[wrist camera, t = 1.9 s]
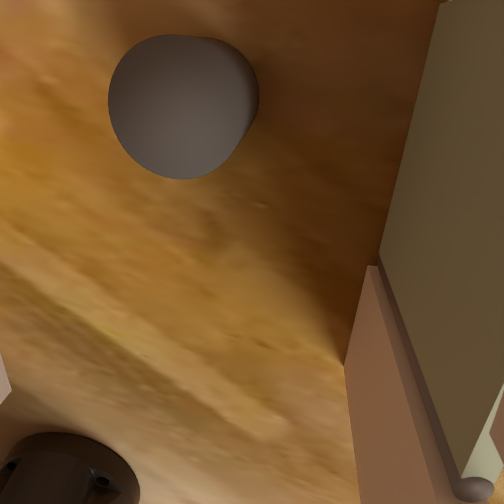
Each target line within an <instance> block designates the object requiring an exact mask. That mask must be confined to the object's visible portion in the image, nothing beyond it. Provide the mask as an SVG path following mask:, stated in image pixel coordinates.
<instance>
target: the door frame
mask: <svg viewBox="0 0 504 504" xmlns="http://www.w3.org/2000/svg"><path fill="white" fill-rule="evenodd" d="M344 374H345V382H346V390H347V398H348V406H349V413H350V421H351V429H352V437H353V445H354V452H355V460H356V468H357V476H358V484H359V492H360V499H361V504H489V502H488V500H487V499H486V500H484V501H481V502H476V503H469V502H464V501H461V500H459V499H457V498H456V497H455V496H454V494H453V491H452V488H451V485H450V482H449V479H448V476H447V473H446V470H445V467H444V464H443V461H442V458H441V455H440V452H439V449H438V446H437V443H436V440H435V437H434V434H433V431H432V428H431V425H430V422H429V420H428V417H427V414H426V411H425V408H424V405H423V402H422V399H421V396H420V393H419V390H418V387H417V384H416V381H415V378H414V375H413V372H412V369H411V366H410V363H409V360H408V357H407V354H406V351H405V348H404V345H403V342H402V339H401V336H400V333H399V330H398V327H397V324H396V321H395V318H394V315H393V312H392V309H391V306H390V303H389V300H388V297H387V294H386V291H385V288H384V285H383V282H382V279H381V276H380V273H379V270H378V267H377V266H370V265H367V269H366V274H365V278H364V282H363V286H362V291H361V295H360V299H359V303H358V308H357V312H356V316H355V320H354V324H353V329H352V333H351V337H350V341H349V346H348V350H347V354H346V358H345V362H344Z"/></svg>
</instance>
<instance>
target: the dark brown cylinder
mask: <svg viewBox="0 0 504 504" xmlns="http://www.w3.org/2000/svg"><path fill="white" fill-rule="evenodd" d="M258 103H259V89H258V83H257V79H256V76H255V73H254V71H253V69H252V67H251V65H250V64H249V62H248V61H247V59H246V58H245V57H244V56H243V55H242V54H241V53H240V52H239V51H238V50H237V49H235V48H234V47H232V46H231V45H229V44H227V43H225V42H223V41H220V40H217V39H212V38H202V37H192V36H181V35H161V36H156V37H152V38H149V39H146V40H144V41H142V42H140V43H139V44H137V45H135V46H134V47H133V48H132V49H130V50H129V51H128V52H127V53H126V54H125V55H124V57H123V58H122V59H121V60H120V62H119V63H118V65H117V67H116V69H115V71H114V73H113V76H112V79H111V82H110V86H109V93H108V107H109V115H110V119H111V123H112V126H113V129H114V132H115V134H116V136H117V138H118V140H119V141H120V143H121V145H122V146H123V148H124V149H125V150H126V152H127V153H128V154H129V155H130V156H131V157H132V158H133V159H134V160H135V161H136V162H137V163H139V164H140V165H141V166H142V167H144V168H146V169H147V170H149V171H151V172H153V173H155V174H157V175H160V176H163V177H167V178H172V179H192V178H197V177H200V176H203V175H206V174H208V173H210V172H212V171H214V170H215V169H217V168H218V167H219V166H221V165H222V164H223V163H224V162H225V161H226V160H227V159H228V157H229V156H230V155H231V154H232V152H233V151H234V149H235V148H236V147H237V145H238V144H239V142H240V141H241V139H242V138H243V136H244V135H245V133H246V132H247V131H248V129H249V128H250V126H251V124H252V123H253V121H254V118H255V116H256V113H257V109H258Z"/></svg>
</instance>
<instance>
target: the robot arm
mask: <svg viewBox="0 0 504 504" xmlns="http://www.w3.org/2000/svg"><path fill="white" fill-rule="evenodd" d="M11 391H12V390H11V386H10V383H9V380H8V377H7V373H6V370H5V367H4V364H3V360H2V357H1V354H0V404H1V403H2V402H3V400H4V399H5V398H6V397H7V396H8V394H9V393H10V392H11ZM489 435H490V437H491V439H492V441H493V443H494V445H495V447H496V450H497V452H498V454H499V456H500V458H501V460H502V462H503V465H504V391H503V394H502V397H501V400H500V403H499V406H498V409H497V412H496V414H495V417H494V420H493V423H492V426H491V429H490V432H489ZM139 500H140V488H139V484H138V481H137V479H136V477H135V475H134V473H133V472H132V470H131V469H130V468H129V466H128V465H127V464H126V463H125V462H124V461H123V460H122V459H121V458H120V457H119V456H117V455H116V454H115V453H113V452H112V451H110V450H109V449H107V448H106V447H104V446H102V445H100V444H98V443H96V442H94V441H91V440H89V439H86V438H83V437H79V436H76V435H71V434H65V433H41V434H36V435H32V436H29V437H27V438H25V439H23V440H21V441H20V442H18V443H17V444H16V445H15V446H14V447H13V448H12V450H11V451H10V452H9V454H8V455H7V457H6V458H5V460H4V461H3V462H2V464H1V465H0V504H138V503H139Z"/></svg>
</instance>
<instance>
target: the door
mask: <svg viewBox="0 0 504 504" xmlns="http://www.w3.org/2000/svg"><path fill="white" fill-rule="evenodd" d="M376 264H377V267H378V270H379V273H380V276H381V279H382V282H383V285H384V288H385V291H386V294H387V297H388V300H389V303H390V306H391V309H392V312H393V315H394V318H395V321H396V324H397V327H398V330H399V333H400V336H401V339H402V342H403V345H404V348H405V351H406V354H407V357H408V360H409V363H410V366H411V369H412V372H413V375H414V378H415V381H416V384H417V387H418V390H419V393H420V396H421V399H422V402H423V405H424V408H425V411H426V414H427V417H428V420H429V422H430V425H431V428H432V431H433V434H434V437H435V440H436V443H437V446H438V449H439V452H440V455H441V458H442V461H443V464H444V467H445V470H446V473H447V476H448V479H449V482H450V485H451V488H452V491H453V494H454V496H455V497H456V498H457V499H459V500H461V501H464V502H469V503H476V502H481V501H484V500H486V499H488V498H489V497H490V496H491V495H492V494H493V492H494V486H493V483H495V482H496V480H497V478H498V476H499V474H500V473H501V471H502V469H503V467H504V465H503V462H502V460H501V458H500V456H499V454H498V452H497V450H496V447H495V445H494V443H493V441H492V439H491V437H490V435H489V432H490V429H491V426H492V423H493V420H494V417H495V414H496V412H497V409H498V406H499V403H500V400H501V397H502V394H503V391H504V0H452V1H448V2H445V3H441V4H440V5H439V9H438V13H437V17H436V21H435V25H434V29H433V33H432V37H431V42H430V46H429V50H428V54H427V58H426V62H425V66H424V70H423V74H422V78H421V82H420V86H419V90H418V94H417V98H416V103H415V107H414V111H413V115H412V119H411V123H410V127H409V131H408V135H407V139H406V143H405V147H404V151H403V155H402V159H401V164H400V168H399V172H398V176H397V180H396V184H395V188H394V192H393V196H392V200H391V204H390V208H389V212H388V216H387V220H386V225H385V229H384V233H383V237H382V241H381V245H380V249H379V254H378V255H377V257H376Z"/></svg>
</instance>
